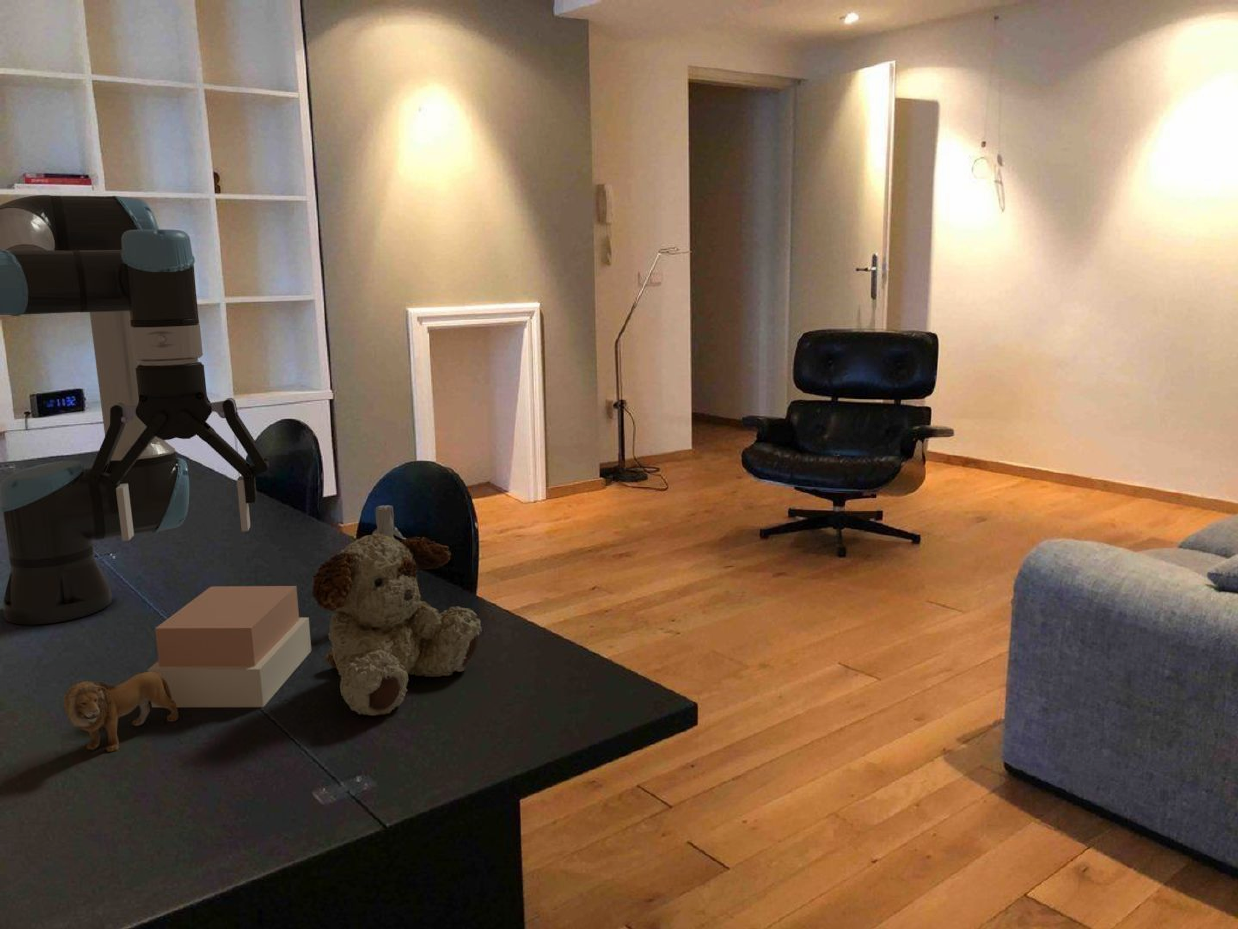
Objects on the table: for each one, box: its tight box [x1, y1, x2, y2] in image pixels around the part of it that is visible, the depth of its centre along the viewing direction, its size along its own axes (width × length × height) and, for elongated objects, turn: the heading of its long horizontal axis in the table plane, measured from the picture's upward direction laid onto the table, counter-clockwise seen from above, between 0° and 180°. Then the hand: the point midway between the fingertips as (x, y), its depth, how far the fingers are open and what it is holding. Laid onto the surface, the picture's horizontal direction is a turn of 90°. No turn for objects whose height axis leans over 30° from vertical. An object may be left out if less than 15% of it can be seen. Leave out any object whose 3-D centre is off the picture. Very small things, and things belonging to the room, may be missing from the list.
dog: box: [311, 534, 483, 716], centre depth 127 cm, size 23×19×20 cm
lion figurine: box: [63, 671, 179, 753], centre depth 113 cm, size 15×5×9 cm, turn 162°
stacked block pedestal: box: [147, 585, 312, 708], centre depth 129 cm, size 14×18×10 cm
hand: (188, 533), depth 121 cm, fingers open, 13 cm apart
